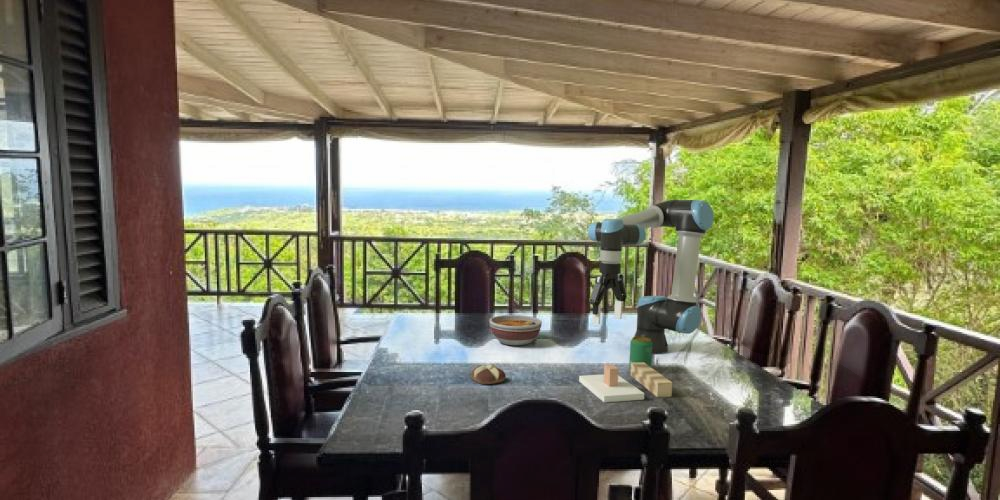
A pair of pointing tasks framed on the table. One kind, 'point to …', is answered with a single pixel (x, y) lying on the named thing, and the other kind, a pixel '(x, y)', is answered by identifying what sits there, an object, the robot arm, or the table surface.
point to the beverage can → (640, 350)
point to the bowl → (515, 329)
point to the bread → (488, 374)
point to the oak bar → (651, 379)
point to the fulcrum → (611, 386)
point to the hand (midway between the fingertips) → (607, 320)
